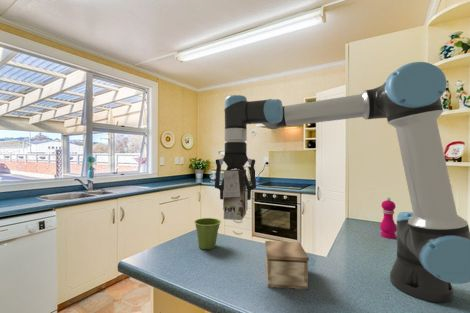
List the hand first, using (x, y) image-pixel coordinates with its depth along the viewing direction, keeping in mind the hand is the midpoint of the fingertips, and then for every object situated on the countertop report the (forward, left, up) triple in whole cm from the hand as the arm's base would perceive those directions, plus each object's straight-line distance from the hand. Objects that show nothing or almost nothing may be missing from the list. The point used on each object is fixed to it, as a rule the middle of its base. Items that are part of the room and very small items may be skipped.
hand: (235, 209), depth 78 cm
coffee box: (0, 0, -3) cm, 3 cm away
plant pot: (+14, -22, -22) cm, 34 cm away
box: (-17, 0, -22) cm, 28 cm away
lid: (-17, 0, -14) cm, 22 cm away
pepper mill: (-75, -46, -22) cm, 91 cm away
